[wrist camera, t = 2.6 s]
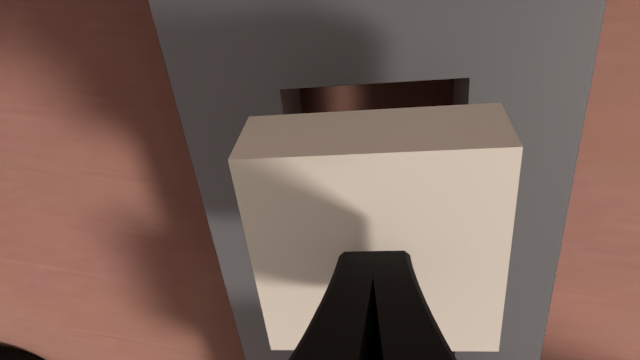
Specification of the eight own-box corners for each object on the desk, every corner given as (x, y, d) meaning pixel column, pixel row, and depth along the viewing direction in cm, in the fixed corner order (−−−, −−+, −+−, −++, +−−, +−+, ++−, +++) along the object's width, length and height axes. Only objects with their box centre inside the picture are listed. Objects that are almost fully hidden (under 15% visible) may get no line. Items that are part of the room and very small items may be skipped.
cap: (468, 229, 16) (498, 351, 12) (296, 233, 17) (271, 349, 13) (479, 58, 13) (522, 146, 9) (270, 72, 14) (227, 159, 10)
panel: (504, 411, 25) (519, 473, 23) (283, 406, 27) (273, 464, 24) (576, -98, 14) (622, -87, 11) (177, -57, 15) (137, -39, 12)
